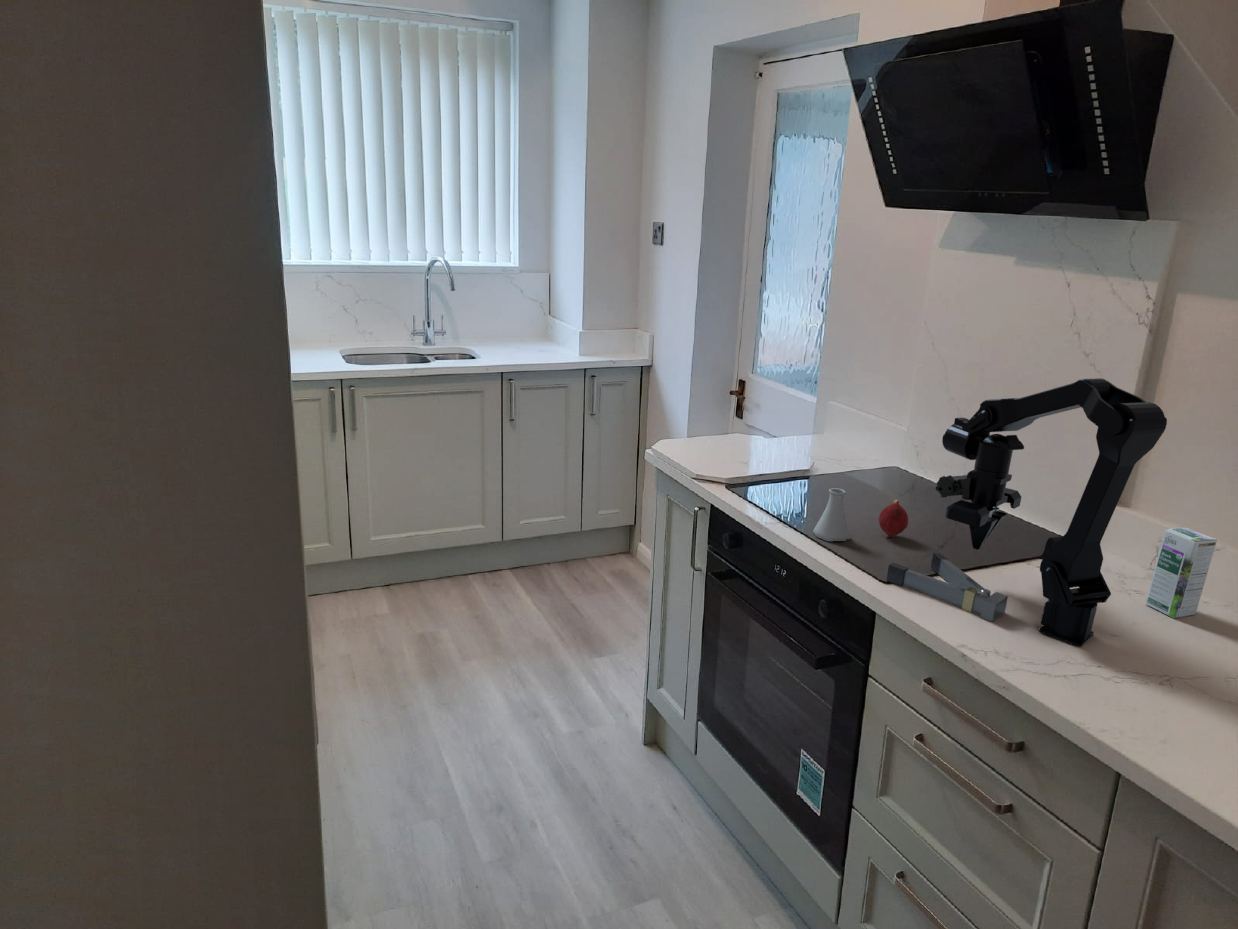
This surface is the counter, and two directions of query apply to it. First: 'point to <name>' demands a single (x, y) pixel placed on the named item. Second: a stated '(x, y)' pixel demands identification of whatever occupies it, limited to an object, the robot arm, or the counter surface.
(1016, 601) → the counter surface
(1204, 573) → the syrup box
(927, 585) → the tongs
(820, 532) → the flask
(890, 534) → the onion
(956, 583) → the tongs arm
